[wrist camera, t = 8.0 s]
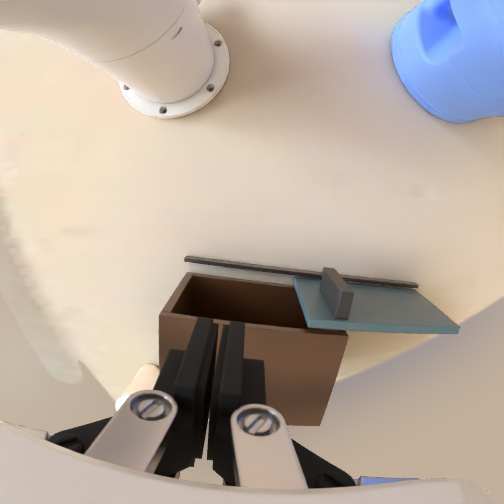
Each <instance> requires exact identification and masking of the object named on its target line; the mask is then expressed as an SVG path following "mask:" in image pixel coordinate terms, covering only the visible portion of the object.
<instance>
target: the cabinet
mask: <svg viewBox="0 0 504 504" xmlns="http://www.w3.org/2000/svg"><path fill="white" fill-rule="evenodd" d="M184 261H185V262H192V263H200V264H208V265H215V266H223V267H231V268H240V269H248V270H256V271H264V272H273V273H281V274H290V275H298V276H307V277H316V278H322V272H314V271H305V270H297V269H288V268H280V267H271V266H263V265H255V264H247V263H239V262H230V261H222V260H214V259H206V258H198V257H191V256H186V257H185V258H184ZM339 275H340V274H339ZM340 276H341V277H342V279H343V280H344V281H352V282H362V283H371V284H381V285H390V286H400V287H410V288H418V286H419V285H417V284H416V283H412V282H403V281H394V280H385V279H376V278H367V277H358V276H349V275H340ZM198 317H204V318H211V319H213V323H219V329H218V340H217V352H216V363H217V357H218V352H219V346H220V341H221V335H222V330H223V325H224V324H227V325H230V321H236V322H244V323H245V340H244V358H249V359H259V360H264V368H265V387H266V406H269V407H271V408H273V409H275V410H277V411H278V412H279V413H280V414H281V415H282V416H283V418H284V420H285V422H286V425H296V426H320V424H321V421H322V418H323V415H324V412H325V410H326V407H327V404H328V401H329V398H330V395H331V392H332V389H333V386H334V383H335V380H336V377H337V373H338V370H339V367H340V364H341V360H342V357H343V353H344V350H345V346H346V343H347V339H348V335H347V333H346V331H345V330H335V329H322V328H309V327H308V325H307V322H306V319H305V316H304V313H303V310H302V307H301V304H300V302H299V299H298V296H297V293H296V290H295V287H294V285H285V284H277V283H268V282H259V281H251V280H243V279H235V278H227V277H219V276H211V275H203V274H196V273H188V272H187V273H186V275H185V276H184V278H183V279H182V281H181V282H180V284H179V285H178V287H177V288H176V290H175V291H174V293H173V294H172V296H171V297H170V299H169V300H168V302H167V304H166V305H165V307H164V308H163V310H162V311H161V313H160V314H159V374H160V371H161V369H162V367H163V364H164V362H165V360H166V357H167V355H168V353H169V351H170V349H171V348H173V349H180V350H186V348H187V346H188V343H189V340H190V337H191V334H192V332H193V329H194V326H195V323H196V321H197V318H198ZM216 363H215V368H216ZM209 417H210V412H209ZM209 417H208V418H209Z"/></svg>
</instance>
